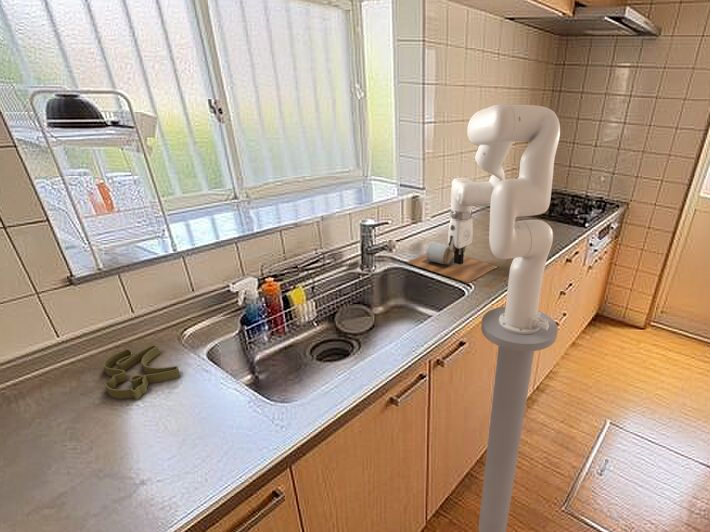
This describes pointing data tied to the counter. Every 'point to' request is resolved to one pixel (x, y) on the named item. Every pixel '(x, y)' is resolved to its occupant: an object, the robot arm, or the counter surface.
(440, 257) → the ceramic mug
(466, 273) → the wooden cutting board
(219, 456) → the counter surface
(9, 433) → the counter surface
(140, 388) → the cookie cutter
